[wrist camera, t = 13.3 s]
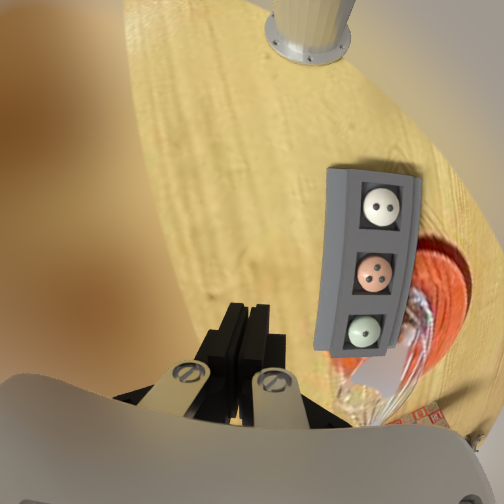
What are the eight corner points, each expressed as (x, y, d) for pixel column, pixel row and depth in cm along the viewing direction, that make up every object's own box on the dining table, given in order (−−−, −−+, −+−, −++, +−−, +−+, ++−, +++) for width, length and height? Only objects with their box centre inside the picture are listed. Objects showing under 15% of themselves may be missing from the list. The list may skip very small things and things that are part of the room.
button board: (326, 168, 35) (331, 167, 31) (417, 178, 33) (428, 178, 30) (313, 345, 41) (314, 357, 38) (392, 343, 40) (398, 354, 37)
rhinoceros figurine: (444, 468, 47) (464, 482, 33) (443, 437, 52) (466, 447, 39) (462, 458, 46) (484, 469, 33) (461, 426, 52) (486, 434, 38)
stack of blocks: (354, 449, 48) (361, 489, 36) (348, 437, 47) (355, 480, 35) (436, 413, 44) (453, 449, 32) (435, 399, 43) (455, 437, 31)
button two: (362, 186, 33) (367, 186, 31) (394, 189, 32) (400, 190, 30) (360, 222, 34) (364, 225, 32) (392, 224, 34) (398, 227, 32)
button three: (357, 253, 35) (361, 257, 33) (389, 254, 35) (394, 258, 33) (353, 286, 36) (357, 292, 34) (384, 286, 36) (389, 292, 34)
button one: (349, 313, 37) (352, 320, 35) (379, 312, 37) (383, 319, 35) (344, 340, 39) (347, 348, 37) (373, 339, 38) (377, 347, 36)
